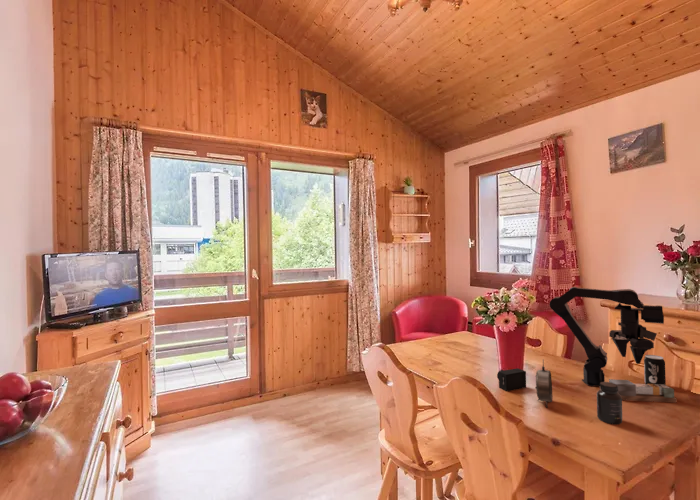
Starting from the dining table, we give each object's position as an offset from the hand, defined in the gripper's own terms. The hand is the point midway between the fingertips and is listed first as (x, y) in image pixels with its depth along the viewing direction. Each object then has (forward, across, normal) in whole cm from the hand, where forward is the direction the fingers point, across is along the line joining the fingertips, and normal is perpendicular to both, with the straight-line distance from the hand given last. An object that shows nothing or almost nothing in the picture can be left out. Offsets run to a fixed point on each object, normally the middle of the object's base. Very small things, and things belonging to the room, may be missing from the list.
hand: (630, 360), depth 142 cm
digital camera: (+12, -2, +46) cm, 47 cm away
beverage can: (+12, +6, -12) cm, 18 cm away
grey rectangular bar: (+10, -8, -1) cm, 13 cm away
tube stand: (+12, -8, +1) cm, 14 cm away
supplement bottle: (+12, -28, +22) cm, 38 cm away
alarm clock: (+12, -16, +38) cm, 43 cm away
